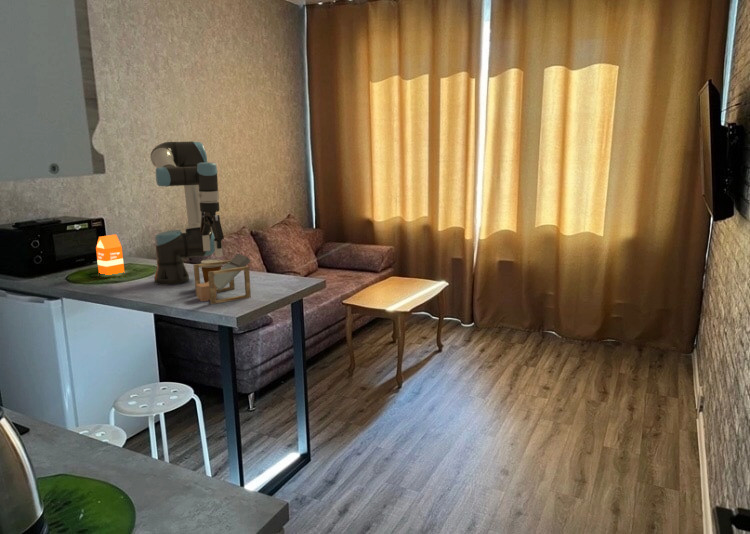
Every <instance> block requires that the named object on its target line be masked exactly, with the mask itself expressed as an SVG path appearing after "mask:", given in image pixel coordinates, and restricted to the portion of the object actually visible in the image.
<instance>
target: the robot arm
mask: <svg viewBox="0 0 750 534" xmlns="http://www.w3.org/2000/svg"><path fill="white" fill-rule="evenodd" d="M206 152H207V151H206V149H205V146H204V144H203V143H202V142H200V141H192V140H191V141H166V142H162V143H160V144H158V145H157V146H155V147H154V148H153V149H152V151H151V153H150V161H151V163H152V165H153V166H154V167H155V181H156V185H157V186H158V187H180V186H183V188H184V196H185V197H184V198H185V199H184V200H185V207H186V217H187V227H185V230H184V231H185V232H182V230H180V229H173V230H167V231H163V232H160V233H159V232H158V233H157V234H156V235H155V237H154V246H155V253H156V270H155V275H154V283H155V284H156V283H158V284H157V285H160V284H172V285H180V284H184V283H188V281H189V280H190V276H189V272H188V270H187V269H186V266H185V261H184V260H185V259H186V258H187V259H189V258H198V257H200V258H201V257H209V256H212V255H214V254H215V257H216V258H217V257H223V242H222V241H223V240H224V239H225V237H224V232H223V228H222V224H221V219H220V215H219V214H216V213H217V212H219V211H220V202H219V201H220V195H219V193H220V192H219V183H218V181H219V180H218V172H219V171H218V167H217V163H215V162H211V161H210V162H208V156H207V153H206Z"/></svg>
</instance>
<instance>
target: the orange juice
mask: <svg viewBox="0 0 750 534" xmlns="http://www.w3.org/2000/svg"><path fill="white" fill-rule="evenodd" d="M96 243H97V244H96V245H95V246H96V247H95V251H96V261H97V270H98V274H99V273H100V274H105V275H112V274H118V273H123V272H124V273H125V264H124V257H123V256H124V255H123V247H122V245H121V241H120V240H119V237H118V235H117V234H116V233H115V234H110V235H109V234H108V235H104V236H103V235H102V236H98V239H97V242H96Z"/></svg>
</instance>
